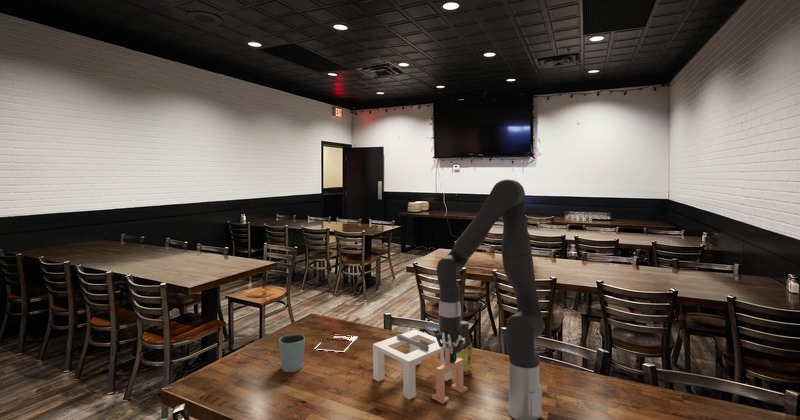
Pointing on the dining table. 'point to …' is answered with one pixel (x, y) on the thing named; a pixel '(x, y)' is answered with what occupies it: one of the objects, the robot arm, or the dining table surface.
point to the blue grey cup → (292, 352)
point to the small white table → (407, 357)
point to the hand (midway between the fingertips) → (450, 361)
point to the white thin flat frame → (343, 338)
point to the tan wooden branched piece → (441, 377)
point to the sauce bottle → (465, 349)
